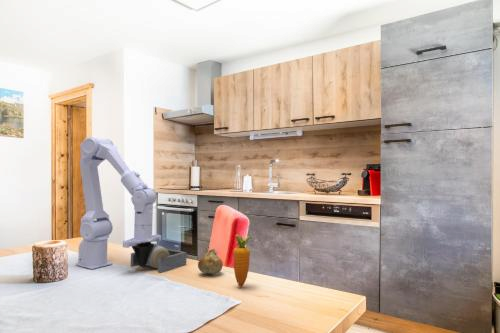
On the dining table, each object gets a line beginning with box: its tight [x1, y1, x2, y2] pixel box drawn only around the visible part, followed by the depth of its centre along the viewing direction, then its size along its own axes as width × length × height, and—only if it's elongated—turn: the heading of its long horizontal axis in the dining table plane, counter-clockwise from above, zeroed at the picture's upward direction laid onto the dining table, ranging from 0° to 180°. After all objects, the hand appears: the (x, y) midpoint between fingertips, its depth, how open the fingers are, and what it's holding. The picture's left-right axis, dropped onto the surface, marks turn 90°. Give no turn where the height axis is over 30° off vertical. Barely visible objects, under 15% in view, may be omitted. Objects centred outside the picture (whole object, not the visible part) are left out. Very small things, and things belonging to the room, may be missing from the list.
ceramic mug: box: [146, 242, 170, 270], centre depth 117 cm, size 11×8×8 cm
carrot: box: [233, 234, 251, 288], centre depth 96 cm, size 5×5×15 cm
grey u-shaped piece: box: [130, 248, 188, 274], centre depth 117 cm, size 14×12×4 cm
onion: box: [197, 248, 224, 276], centre depth 108 cm, size 8×8×8 cm
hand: (142, 265), depth 111 cm, fingers closed
